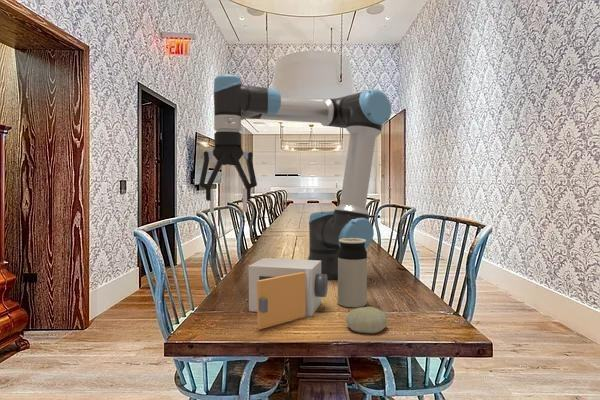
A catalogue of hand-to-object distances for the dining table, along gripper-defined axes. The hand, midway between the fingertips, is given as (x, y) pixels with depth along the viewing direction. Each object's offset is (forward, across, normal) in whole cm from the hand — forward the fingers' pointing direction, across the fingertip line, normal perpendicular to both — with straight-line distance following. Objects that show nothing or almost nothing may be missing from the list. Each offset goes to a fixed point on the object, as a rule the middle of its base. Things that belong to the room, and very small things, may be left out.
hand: (228, 212), depth 124 cm
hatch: (+25, +9, -24) cm, 36 cm away
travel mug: (+26, +32, -14) cm, 43 cm away
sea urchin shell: (+26, +27, -33) cm, 50 cm away
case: (+25, +14, -12) cm, 32 cm away
